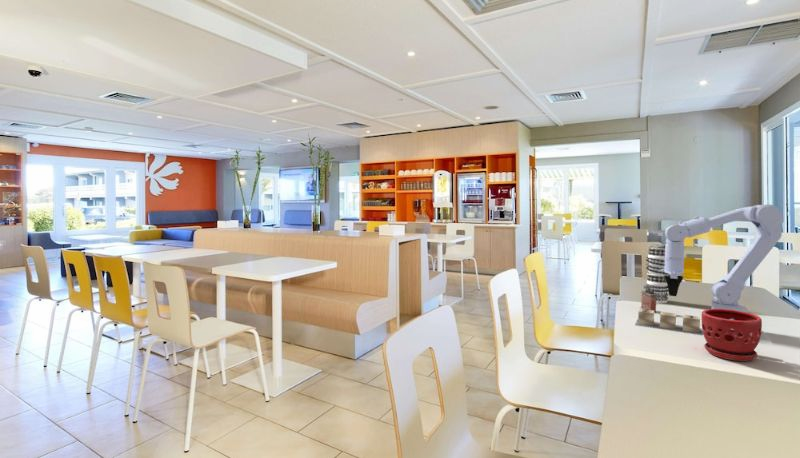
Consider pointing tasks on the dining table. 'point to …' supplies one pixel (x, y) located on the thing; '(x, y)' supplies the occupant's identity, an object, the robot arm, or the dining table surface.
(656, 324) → the felt strip
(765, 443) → the dining table surface
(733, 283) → the robot arm
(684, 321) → the block one
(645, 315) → the block seven
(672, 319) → the plain block
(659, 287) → the decorative candle
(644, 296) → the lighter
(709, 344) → the plant pot
